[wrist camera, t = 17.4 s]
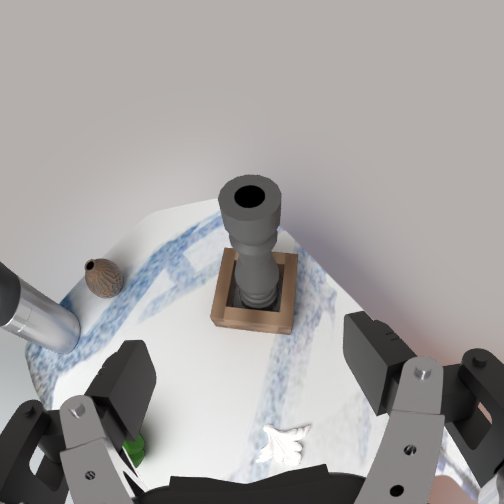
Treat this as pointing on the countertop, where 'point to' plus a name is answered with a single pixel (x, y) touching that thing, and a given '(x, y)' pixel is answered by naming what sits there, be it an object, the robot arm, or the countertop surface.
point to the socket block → (250, 318)
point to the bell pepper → (135, 450)
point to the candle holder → (253, 237)
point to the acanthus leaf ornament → (283, 445)
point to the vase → (103, 277)
